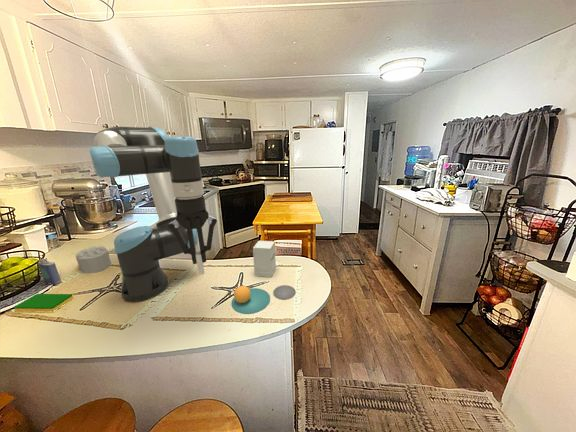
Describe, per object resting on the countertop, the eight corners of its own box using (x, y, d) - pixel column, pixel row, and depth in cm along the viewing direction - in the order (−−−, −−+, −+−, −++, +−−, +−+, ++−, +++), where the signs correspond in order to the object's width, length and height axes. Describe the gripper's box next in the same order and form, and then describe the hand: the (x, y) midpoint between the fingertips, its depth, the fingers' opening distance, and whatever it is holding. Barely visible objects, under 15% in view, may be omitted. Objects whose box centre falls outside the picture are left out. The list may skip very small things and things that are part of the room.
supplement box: (271, 277, 89) (270, 248, 86) (254, 275, 91) (251, 247, 87) (276, 268, 96) (275, 241, 93) (260, 266, 98) (258, 240, 94)
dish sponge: (54, 313, 74) (51, 307, 73) (15, 313, 74) (12, 307, 74) (75, 299, 80) (72, 293, 80) (39, 299, 81) (36, 293, 81)
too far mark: (276, 301, 75) (276, 301, 75) (270, 288, 82) (270, 288, 82) (298, 296, 78) (298, 295, 78) (291, 283, 85) (291, 283, 85)
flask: (63, 282, 91) (54, 258, 87) (54, 286, 88) (44, 262, 85) (51, 278, 94) (41, 255, 91) (41, 281, 91) (31, 258, 88)
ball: (253, 303, 75) (237, 308, 73) (247, 294, 80) (232, 298, 77) (252, 289, 73) (236, 294, 71) (247, 280, 78) (231, 285, 75)
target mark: (233, 318, 69) (233, 317, 68) (229, 293, 80) (229, 293, 80) (274, 307, 72) (274, 307, 72) (265, 285, 84) (265, 285, 84)
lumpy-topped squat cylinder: (105, 258, 109) (100, 242, 107) (116, 265, 102) (111, 248, 100) (77, 268, 101) (71, 250, 99) (87, 276, 94) (81, 258, 92)
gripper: (160, 201, 56) (176, 283, 63) (214, 197, 60) (224, 274, 67) (165, 195, 62) (179, 269, 70) (214, 191, 66) (222, 262, 74)
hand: (201, 271), depth 68 cm, fingers closed
